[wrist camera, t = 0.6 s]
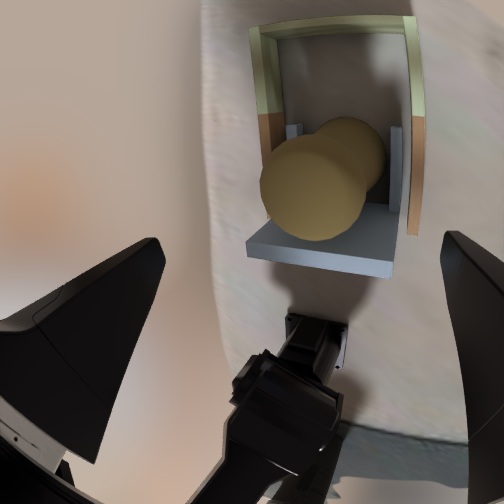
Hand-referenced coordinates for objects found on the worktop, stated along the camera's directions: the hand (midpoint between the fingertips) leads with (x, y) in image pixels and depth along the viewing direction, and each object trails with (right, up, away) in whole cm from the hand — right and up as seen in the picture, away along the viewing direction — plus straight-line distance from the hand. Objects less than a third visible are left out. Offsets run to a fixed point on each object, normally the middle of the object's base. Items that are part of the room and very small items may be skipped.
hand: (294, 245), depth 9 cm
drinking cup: (+10, -28, +31) cm, 43 cm away
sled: (+6, +6, +13) cm, 16 cm away
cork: (+6, +7, +13) cm, 16 cm away
